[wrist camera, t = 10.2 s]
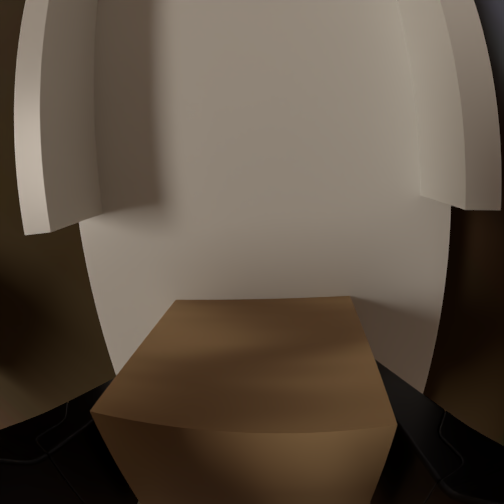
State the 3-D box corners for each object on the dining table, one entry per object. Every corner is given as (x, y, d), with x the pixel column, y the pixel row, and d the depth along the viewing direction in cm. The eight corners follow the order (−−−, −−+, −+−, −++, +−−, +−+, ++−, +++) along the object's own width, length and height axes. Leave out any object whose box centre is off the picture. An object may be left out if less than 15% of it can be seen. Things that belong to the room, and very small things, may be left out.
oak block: (349, 295, 9) (397, 424, 4) (338, 422, 10) (350, 543, 5) (175, 299, 9) (89, 411, 5) (200, 421, 11) (160, 532, 6)
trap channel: (350, -128, 5) (359, -184, 1) (395, 419, 12) (417, 495, 8) (121, -99, 7) (80, -143, 2) (158, 419, 14) (124, 488, 9)
